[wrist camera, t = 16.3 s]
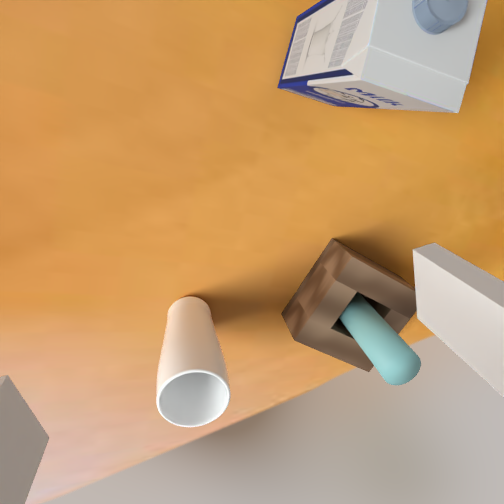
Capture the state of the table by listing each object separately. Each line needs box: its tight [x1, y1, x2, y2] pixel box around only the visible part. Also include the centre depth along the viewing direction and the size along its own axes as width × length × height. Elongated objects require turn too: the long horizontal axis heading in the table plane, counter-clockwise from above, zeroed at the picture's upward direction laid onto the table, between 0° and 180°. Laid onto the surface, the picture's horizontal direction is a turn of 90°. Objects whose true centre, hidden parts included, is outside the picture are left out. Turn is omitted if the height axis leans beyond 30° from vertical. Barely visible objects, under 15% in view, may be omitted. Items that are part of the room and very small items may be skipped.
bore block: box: [282, 238, 417, 372], centre depth 48 cm, size 12×12×6 cm
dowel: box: [339, 292, 421, 385], centre depth 43 cm, size 4×4×14 cm
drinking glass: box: [156, 296, 230, 427], centre depth 41 cm, size 7×7×15 cm
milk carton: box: [278, 0, 487, 113], centre depth 30 cm, size 7×7×20 cm
